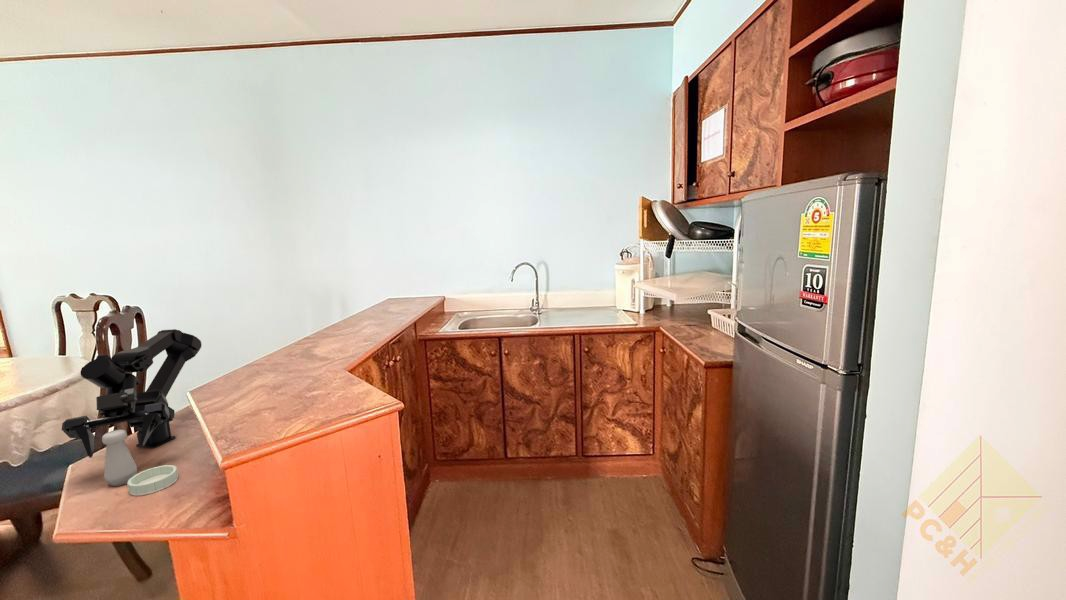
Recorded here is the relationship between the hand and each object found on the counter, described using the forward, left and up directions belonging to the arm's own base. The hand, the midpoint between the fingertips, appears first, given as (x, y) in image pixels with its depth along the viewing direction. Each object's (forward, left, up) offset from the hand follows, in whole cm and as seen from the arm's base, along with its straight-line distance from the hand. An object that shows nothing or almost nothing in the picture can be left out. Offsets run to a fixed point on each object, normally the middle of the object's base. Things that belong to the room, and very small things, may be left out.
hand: (116, 451), depth 102 cm
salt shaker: (0, 0, -8) cm, 8 cm away
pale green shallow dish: (0, +10, -8) cm, 13 cm away
